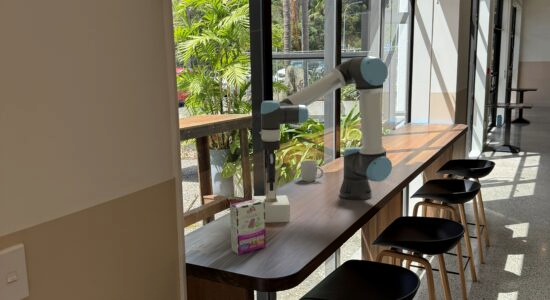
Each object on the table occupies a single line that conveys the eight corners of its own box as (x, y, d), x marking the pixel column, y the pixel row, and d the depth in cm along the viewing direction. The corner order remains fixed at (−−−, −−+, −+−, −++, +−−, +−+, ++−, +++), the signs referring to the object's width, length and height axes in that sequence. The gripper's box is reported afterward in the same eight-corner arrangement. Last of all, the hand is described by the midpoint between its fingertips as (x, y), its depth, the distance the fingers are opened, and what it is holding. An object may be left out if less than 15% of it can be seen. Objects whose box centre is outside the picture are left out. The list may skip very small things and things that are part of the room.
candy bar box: (257, 243, 171) (257, 198, 168) (266, 247, 167) (265, 201, 164) (230, 250, 164) (229, 203, 162) (238, 255, 160) (237, 207, 158)
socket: (286, 211, 208) (286, 195, 207) (289, 221, 194) (289, 204, 193) (253, 212, 207) (253, 196, 206) (254, 222, 193) (254, 205, 192)
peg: (275, 210, 203) (275, 168, 199) (276, 213, 199) (276, 170, 195) (265, 210, 202) (265, 168, 199) (266, 213, 198) (265, 170, 195)
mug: (297, 181, 261) (297, 163, 260) (304, 177, 269) (304, 160, 268) (320, 183, 256) (320, 165, 254) (326, 180, 264) (326, 162, 262)
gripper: (260, 136, 203) (260, 191, 207) (262, 143, 187) (262, 202, 191) (278, 136, 204) (278, 191, 208) (281, 142, 187) (282, 202, 191)
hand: (271, 196), depth 199 cm, fingers closed on peg, 4 cm apart
